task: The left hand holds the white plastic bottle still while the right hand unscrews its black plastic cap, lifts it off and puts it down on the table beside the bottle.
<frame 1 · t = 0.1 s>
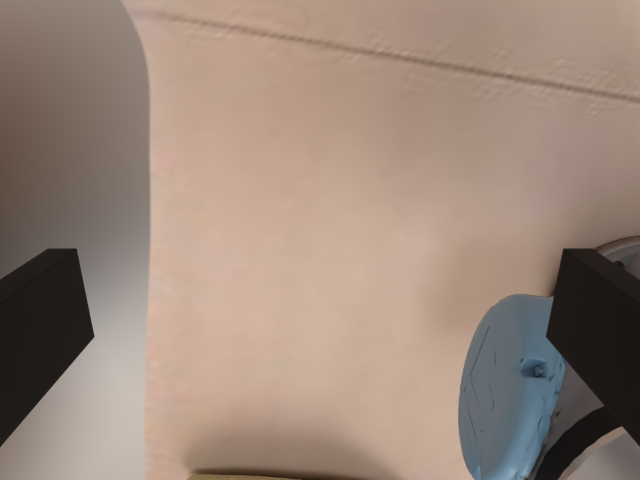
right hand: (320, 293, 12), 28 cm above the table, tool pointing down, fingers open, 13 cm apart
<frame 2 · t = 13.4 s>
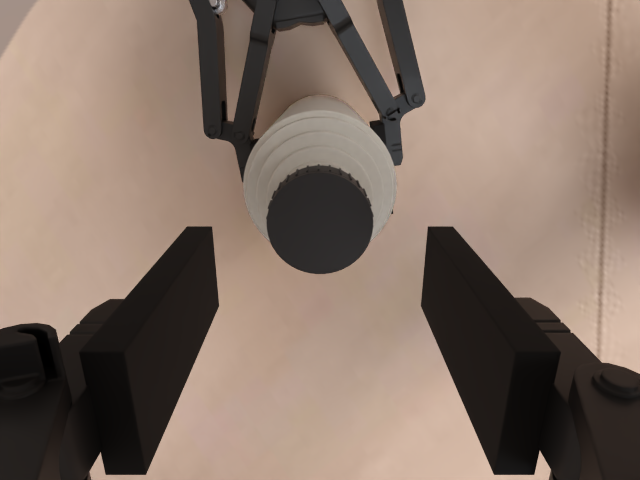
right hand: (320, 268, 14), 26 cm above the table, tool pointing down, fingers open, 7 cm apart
left hand: (329, 216, 35), fingers closed on bottle, 8 cm apart
bottle: (319, 143, 39), on the table, touching left hand
cap: (319, 223, 18), point 22 cm above the table, screwed on, not yet turned
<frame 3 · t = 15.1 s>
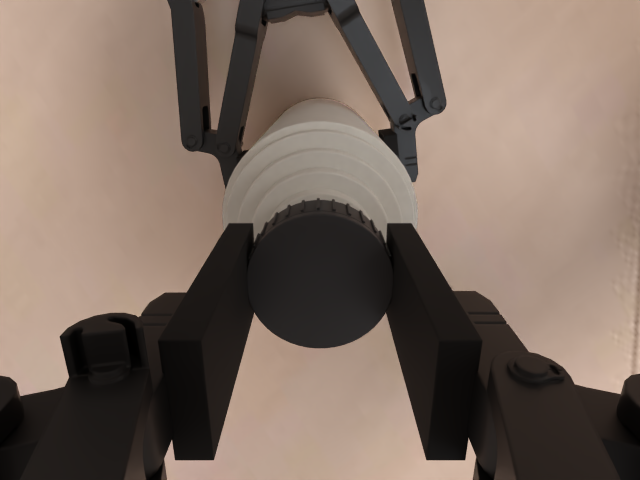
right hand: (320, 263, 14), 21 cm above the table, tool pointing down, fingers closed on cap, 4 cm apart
left hand: (330, 241, 30), fingers closed on bottle, 8 cm apart
bottle: (320, 153, 34), on the table, touching left hand
cap: (320, 280, 13), point 22 cm above the table, screwed on, not yet turned, touching right hand
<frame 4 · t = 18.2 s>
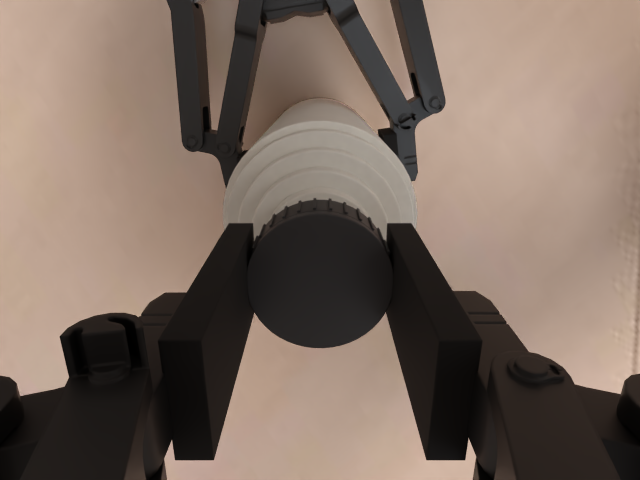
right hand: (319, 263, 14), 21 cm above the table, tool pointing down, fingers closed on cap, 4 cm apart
left hand: (331, 240, 30), fingers closed on bottle, 8 cm apart
bottle: (320, 153, 34), on the table, touching left hand
cap: (320, 280, 13), point 22 cm above the table, turned 110° so far, risen 0.1 cm, still on its thread, touching right hand
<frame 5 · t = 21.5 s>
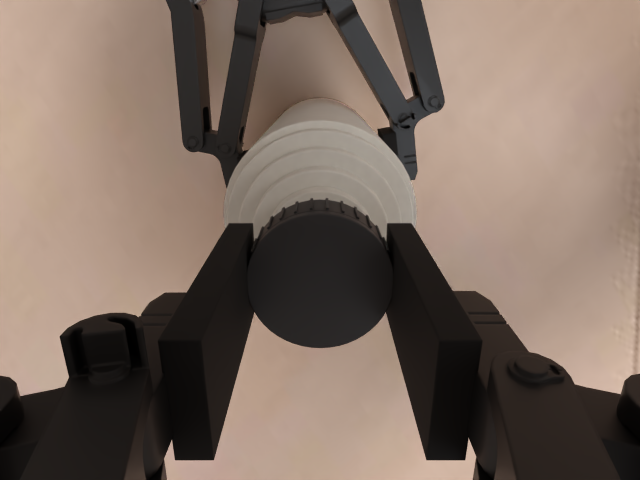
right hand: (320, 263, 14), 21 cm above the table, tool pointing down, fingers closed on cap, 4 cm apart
left hand: (331, 239, 30), fingers closed on bottle, 8 cm apart
bottle: (320, 153, 34), on the table, touching left hand
cap: (320, 280, 13), point 22 cm above the table, turned 221° so far, risen 0.2 cm, still on its thread, touching right hand
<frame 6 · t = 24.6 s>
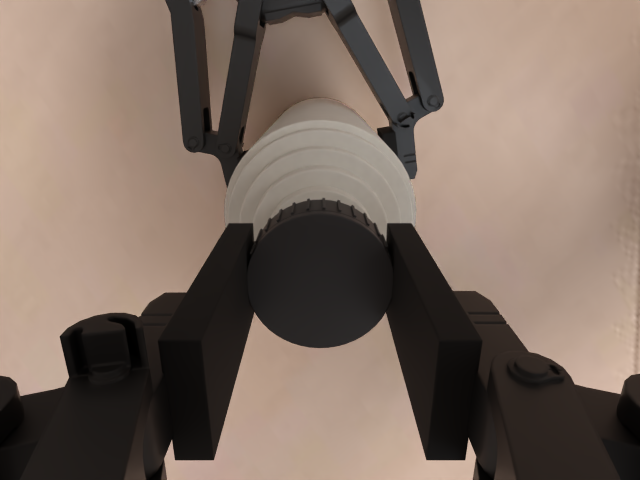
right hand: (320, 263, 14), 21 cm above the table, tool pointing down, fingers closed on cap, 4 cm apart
left hand: (332, 239, 30), fingers closed on bottle, 8 cm apart
bottle: (320, 152, 34), on the table, touching left hand
cap: (320, 280, 13), point 22 cm above the table, turned 331° so far, risen 0.4 cm, still on its thread, touching right hand
when the right hand's fingers open (1 cm above the table, at t = 33.1 s): cap drops 1 cm, point 1 cm above the table.
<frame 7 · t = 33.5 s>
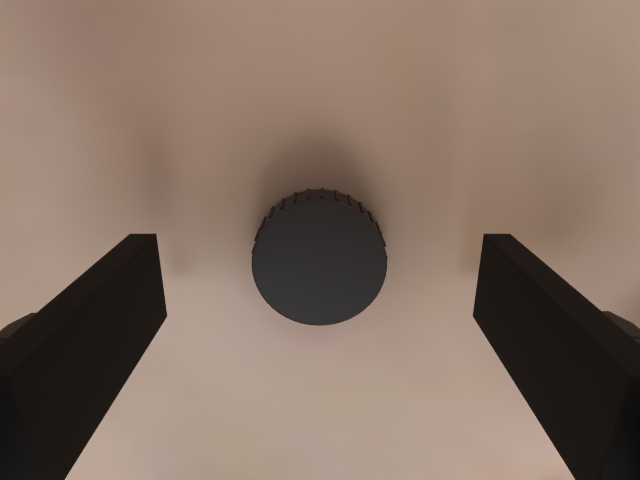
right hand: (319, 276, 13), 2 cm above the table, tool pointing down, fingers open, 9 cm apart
cap: (319, 263, 14), point 1 cm above the table, off its thread
when the left hand's fingers open (6 cm above the table, at t = 34.4 s): bottle stays where it is, on the table.
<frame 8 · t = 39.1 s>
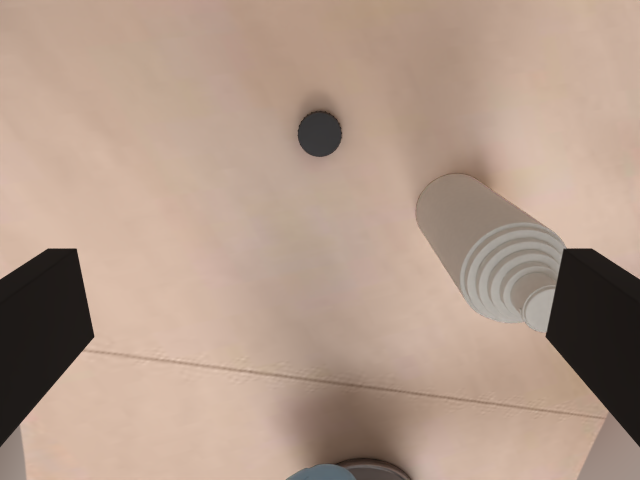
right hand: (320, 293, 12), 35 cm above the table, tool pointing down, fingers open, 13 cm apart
bottle: (452, 210, 48), on the table
cap: (319, 134, 44), point 1 cm above the table, off its thread
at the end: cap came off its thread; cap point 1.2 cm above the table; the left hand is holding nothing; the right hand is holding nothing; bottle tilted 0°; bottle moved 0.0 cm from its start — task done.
